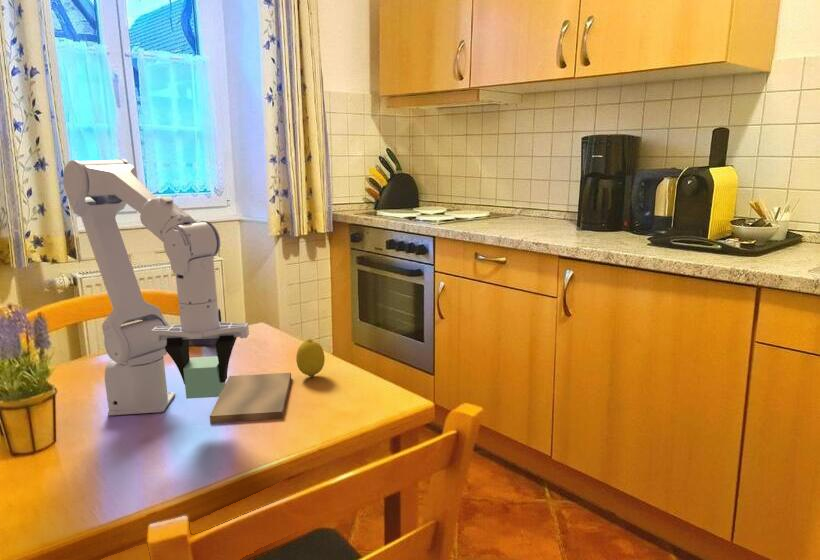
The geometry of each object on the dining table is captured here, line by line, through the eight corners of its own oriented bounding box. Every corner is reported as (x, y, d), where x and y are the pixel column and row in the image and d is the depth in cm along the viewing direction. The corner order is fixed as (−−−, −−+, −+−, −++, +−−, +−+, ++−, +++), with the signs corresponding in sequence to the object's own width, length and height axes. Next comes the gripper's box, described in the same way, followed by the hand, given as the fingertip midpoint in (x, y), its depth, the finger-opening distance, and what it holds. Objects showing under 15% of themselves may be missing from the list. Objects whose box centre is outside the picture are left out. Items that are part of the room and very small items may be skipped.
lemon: (319, 383, 116) (317, 344, 114) (293, 381, 117) (290, 343, 115) (329, 372, 121) (327, 335, 119) (303, 371, 122) (301, 334, 120)
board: (210, 422, 100) (209, 416, 100) (229, 381, 117) (229, 376, 117) (282, 418, 101) (282, 411, 101) (291, 378, 119) (291, 372, 118)
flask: (183, 347, 139) (179, 302, 136) (189, 343, 142) (185, 299, 139) (221, 347, 138) (217, 303, 135) (226, 343, 141) (222, 300, 138)
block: (186, 398, 93) (183, 368, 92) (194, 386, 98) (191, 357, 97) (218, 396, 94) (216, 367, 93) (225, 384, 99) (222, 356, 98)
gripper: (141, 308, 88) (151, 393, 91) (240, 304, 90) (247, 388, 93) (156, 296, 95) (165, 376, 98) (248, 293, 96) (254, 371, 99)
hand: (205, 381), depth 96 cm, fingers closed on block, 5 cm apart
